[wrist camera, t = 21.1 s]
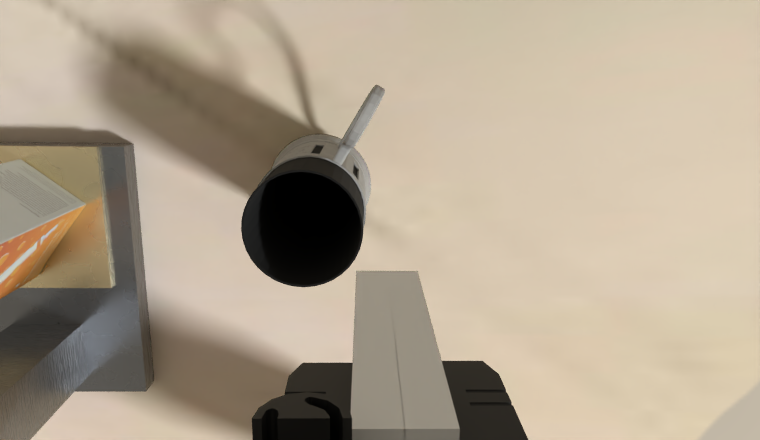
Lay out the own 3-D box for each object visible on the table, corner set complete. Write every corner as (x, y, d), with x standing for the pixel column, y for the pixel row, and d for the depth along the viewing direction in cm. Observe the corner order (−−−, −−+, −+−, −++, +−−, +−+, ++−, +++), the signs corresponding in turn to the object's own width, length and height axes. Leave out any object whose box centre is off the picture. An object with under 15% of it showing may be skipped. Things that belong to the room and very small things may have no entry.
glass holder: (251, 203, 51) (206, 255, 36) (330, 56, 48) (316, 49, 33) (339, 251, 52) (330, 319, 37) (422, 110, 49) (446, 126, 35)
